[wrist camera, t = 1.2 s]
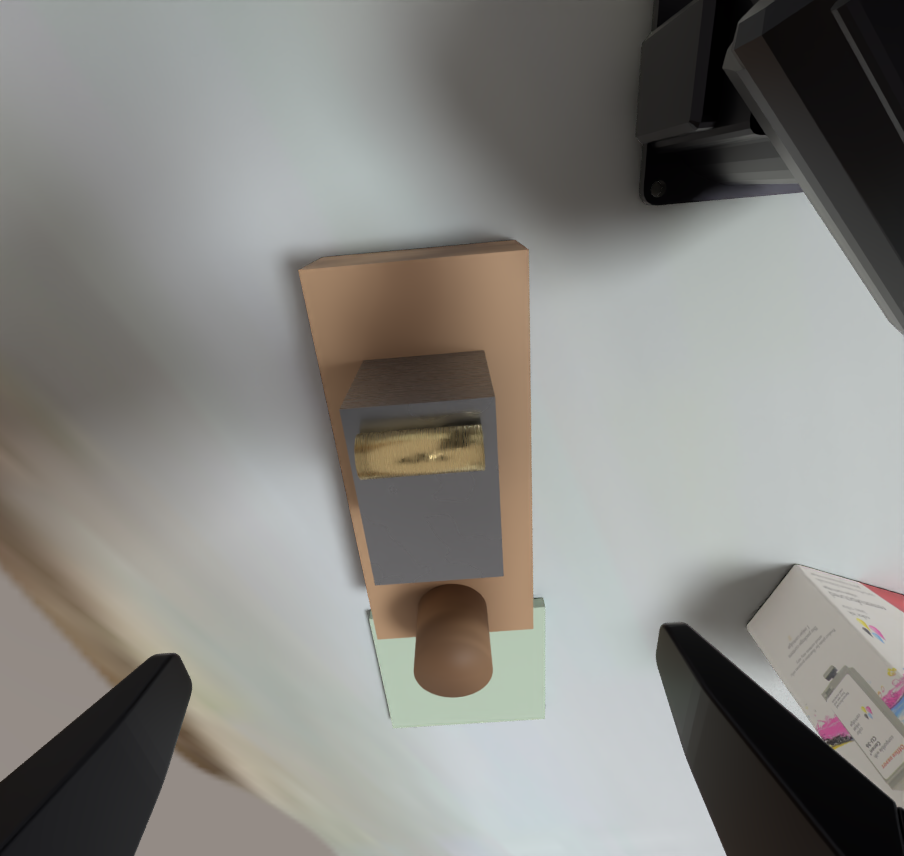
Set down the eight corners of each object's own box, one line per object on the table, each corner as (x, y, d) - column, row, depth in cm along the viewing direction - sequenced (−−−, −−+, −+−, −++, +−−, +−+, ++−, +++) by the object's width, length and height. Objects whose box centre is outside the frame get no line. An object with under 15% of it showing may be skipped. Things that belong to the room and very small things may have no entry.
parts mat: (542, 598, 25) (545, 606, 24) (543, 709, 29) (544, 718, 28) (370, 609, 25) (368, 619, 25) (394, 718, 29) (393, 728, 29)
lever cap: (484, 350, 16) (499, 413, 11) (492, 501, 18) (507, 601, 14) (363, 360, 16) (330, 426, 11) (388, 509, 19) (370, 610, 14)
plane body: (515, 239, 17) (547, 262, 12) (523, 577, 24) (545, 691, 19) (322, 257, 18) (264, 287, 12) (385, 587, 25) (367, 703, 19)
